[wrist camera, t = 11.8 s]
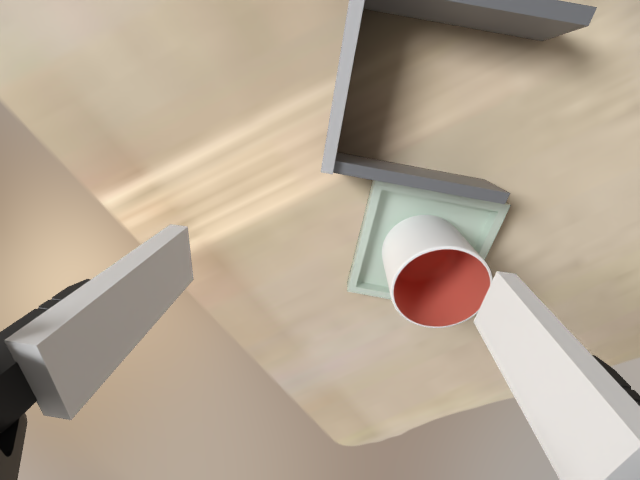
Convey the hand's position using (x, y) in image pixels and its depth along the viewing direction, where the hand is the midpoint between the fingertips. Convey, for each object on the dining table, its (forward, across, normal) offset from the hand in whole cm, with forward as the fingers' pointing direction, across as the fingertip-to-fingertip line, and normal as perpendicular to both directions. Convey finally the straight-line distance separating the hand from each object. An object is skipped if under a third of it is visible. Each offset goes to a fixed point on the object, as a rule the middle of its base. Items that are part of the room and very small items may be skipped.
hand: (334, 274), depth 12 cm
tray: (+25, +11, -10) cm, 29 cm away
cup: (+25, +11, -10) cm, 29 cm away
